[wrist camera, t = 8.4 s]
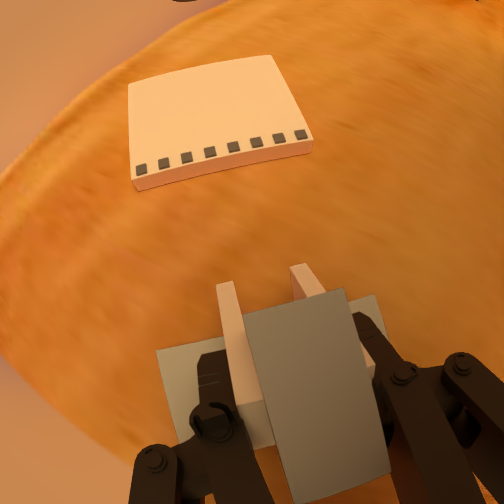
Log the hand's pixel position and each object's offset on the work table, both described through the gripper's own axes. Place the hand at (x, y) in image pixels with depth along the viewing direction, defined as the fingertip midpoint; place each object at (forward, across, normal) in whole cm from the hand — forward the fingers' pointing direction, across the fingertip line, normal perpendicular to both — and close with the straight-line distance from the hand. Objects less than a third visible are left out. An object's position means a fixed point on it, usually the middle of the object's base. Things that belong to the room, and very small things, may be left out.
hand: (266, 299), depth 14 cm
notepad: (+13, 0, +8) cm, 15 cm away
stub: (0, 0, -5) cm, 5 cm away
